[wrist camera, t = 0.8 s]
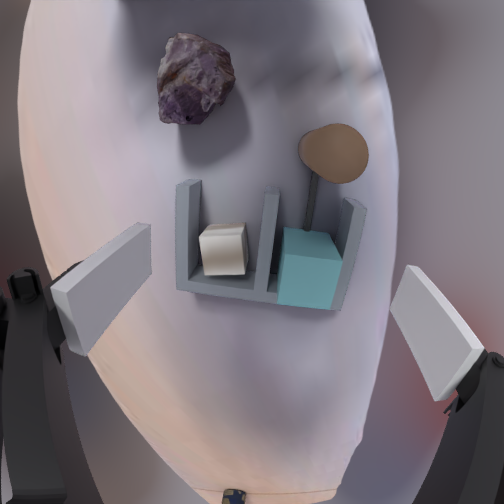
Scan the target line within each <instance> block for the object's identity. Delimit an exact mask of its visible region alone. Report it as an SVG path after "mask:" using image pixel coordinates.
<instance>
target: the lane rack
mask: <svg viewBox="0 0 504 504" xmlns="http://www.w3.org/2000/svg"><path fill="white" fill-rule="evenodd" d="M200 194H201V180H194V179H189V180H187V181H184V182H182V183H180V184H178V185H176V210H175V253H176V288H177V290H182V291H188V292H194V293H200V294H207V295H213V296H220V297H227V298H234V299H241V300H249V301H256V302H264V303H272V304H277V275H276V274H269V271H270V264H271V257H272V249H273V242H274V235H275V227H276V220H277V212H278V204H279V196H280V192H279V188H276V187H268V186H267V187H266V191H265V196H264V205H263V214H262V223H261V231H260V240H259V249H258V257H257V266H256V272H253V271H245V274H241V275H205V273H204V267H203V265H200V264H198V245H199V215H200ZM366 212H367V209H366V208H365V207H364V206H363V205H361V204H360V203H359V202H358V201H356V200H354V199H349V198H344V200H343V205H342V211H341V216H340V221H339V226H338V231H337V236H336V241H335V247H336V249H337V251H338V253H339V255H340V257H341V259H342V261H343V263H342V267H341V271H340V275H339V278H338V282H337V286H336V290H335V293H334V297H333V300H332V304H331V307H330V310H340V311H341V308H342V305H343V301H344V298H345V295H346V291H347V288H348V284H349V281H350V277H351V274H352V270H353V266H354V263H355V259H356V255H357V251H358V247H359V243H360V239H361V234H362V230H363V226H364V221H365V216H366Z"/></svg>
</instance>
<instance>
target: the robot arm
mask: <svg viewBox="0 0 504 504" xmlns="http://www.w3.org/2000/svg"><path fill="white" fill-rule="evenodd" d="M151 274H152V268H151V224H145V223H138V222H137V223H136V224H134V225H133V226H131V227H130V228H128V229H127V230H125V231H124V232H123V233H121V234H120V235H118V236H117V237H115V238H114V239H113V240H111V241H110V242H108V243H107V244H106V245H104V246H103V247H101V248H100V249H99V250H97V251H96V252H95V253H93V254H92V255H91V256H89V257H88V258H87V259H85V260H83V261H80V262H78V263H76V264H74V265H72V266H71V267H70V268H68V269H67V271H65V272H63V273H62V274H61V276H58V277H57V278H56V279H54V280H53V281H52V282H51V283H50V284H48V285H47V286H46V287H45V288H44V289H42V285H41V281H40V277H39V273H38V270H36V269H35V268H31V267H28V268H22V269H18V270H16V271H14V272H13V273H12V274H10V275H9V276H8V278H7V282H8V286H9V289H10V293H11V296H12V299H11V298H5V296H4V293H3V290H2V288H1V287H0V504H2V501H1V459H2V446H3V436H4V446H5V454H6V460H7V466H8V472H9V477H10V482H11V486H12V492H13V497H12V499H11V500H10V501H8V502H6V504H104V503H103V501H102V499H101V497H100V494H99V492H98V489H97V487H96V485H95V482H94V480H93V477H92V474H91V472H90V469H89V466H88V464H87V460H86V457H85V454H84V451H83V448H82V445H81V441H80V438H79V434H78V430H77V427H76V423H75V419H74V415H73V410H72V405H71V401H70V395H69V390H68V384H67V378H66V372H65V363H64V355H63V350H62V347H61V343H62V342H63V341H64V340H65V339H66V341H67V343H68V346H69V349H70V350H71V351H73V352H75V353H78V354H80V355H82V356H85V357H86V355H87V354H88V353H89V351H90V350H91V348H92V347H93V346H94V344H95V343H96V342H97V341H98V339H99V338H100V337H101V335H102V334H103V333H104V331H105V330H106V329H107V327H108V326H109V325H110V324H111V322H112V321H113V320H114V319H115V317H116V316H117V315H118V314H119V312H120V311H121V310H122V309H123V307H124V306H125V305H126V304H127V302H128V301H129V300H130V299H131V297H132V296H133V295H134V294H135V293H136V291H137V290H138V289H139V288H140V287H141V285H142V284H143V283H144V282H145V281H146V279H147V278H148V277H149V276H150V275H151ZM390 311H391V313H392V314H393V316H394V318H395V320H396V322H397V324H398V325H399V327H400V329H401V331H402V333H403V335H404V337H405V339H406V341H407V343H408V345H409V347H410V349H411V351H412V353H413V355H414V357H415V359H416V361H417V363H418V365H419V368H420V370H421V372H422V374H423V376H424V378H425V381H426V383H427V385H428V387H429V390H430V392H431V394H432V397H433V399H434V401H439V400H445V399H448V398H449V396H450V395H451V394H452V393H453V392H454V390H455V389H456V390H457V392H458V396H457V397H456V398H455V399H454V400H453V401H452V403H451V404H450V405H449V406H448V407H447V408H446V409H445V411H444V414H445V413H446V412H447V411H448V410H451V412H450V413H449V414H448V416H449V418H448V422H447V425H446V428H445V431H444V434H443V437H442V439H441V442H440V445H439V447H438V450H437V453H436V455H435V458H434V460H433V462H432V465H431V467H430V469H429V472H428V474H427V476H426V478H425V480H424V482H423V484H422V486H421V488H420V490H419V492H418V494H417V496H416V498H415V500H414V501H413V503H412V504H504V358H503V356H501V355H500V354H498V353H496V352H490V353H487V351H486V350H485V348H484V347H483V346H482V344H481V342H480V341H479V340H478V338H477V337H476V336H475V334H474V333H473V331H472V330H471V329H470V328H469V326H468V325H467V324H466V322H465V321H464V320H463V319H462V317H461V316H460V315H459V313H458V312H457V311H456V310H455V308H454V307H453V306H452V305H451V304H450V302H449V301H448V300H447V299H446V298H445V296H444V295H443V294H442V293H441V292H440V291H439V289H438V288H437V287H436V286H435V285H434V284H433V283H432V281H431V280H430V279H429V278H428V277H427V276H426V275H425V274H424V273H423V271H422V270H421V269H420V268H419V267H417V266H411V265H407V266H406V268H405V271H404V274H403V277H402V280H401V282H400V284H399V287H398V290H397V292H396V295H395V297H394V300H393V302H392V304H391V307H390Z"/></svg>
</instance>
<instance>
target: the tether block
mask: <svg viewBox="0 0 504 504" xmlns="http://www.w3.org/2000/svg"><path fill="white" fill-rule="evenodd" d="M298 153H299V156H300V158H301V160H302V162H303V163H304V164H305V165H307V166H308V167H309V168H311V169H312V170H313V172H312V179H311V186H310V193H309V199H308V206H307V212H306V218H305V225H304V229H296V228H289V227H284V228H283V235H282V242H281V248H280V255H279V262H278V270H277V304H280V305H288V306H297V307H307V308H317V309H327V310H330V307H331V304H332V300H333V297H334V293H335V290H336V286H337V282H338V278H339V275H340V271H341V267H342V263H343V261H342V259H341V257H340V255H339V253H338V251H337V249H336V247H335V245H334V243H333V241H332V239H331V237H330V235H329V233H325V232H318V231H311V230H310V226H311V220H312V214H313V208H314V202H315V195H316V189H317V182H318V175H320V176H321V177H322V178H324V179H325V180H327V181H330V182H332V183H338V184H344V183H348V182H351V181H354V180H355V179H357V178H358V177H359V176H360V175H361V174H362V173H363V172H364V170H365V168H366V166H367V163H368V157H369V154H368V147H367V144H366V142H365V140H364V138H363V137H362V135H361V134H360V133H359V132H358V131H357V130H355V129H354V128H352V127H350V126H348V125H345V124H330V125H327V126H324V127H321V128H319V129H316V130H313V131H310V132H308V133H306V134H305V135H304V136H303V137H302V138H301V140H300V142H299V145H298Z"/></svg>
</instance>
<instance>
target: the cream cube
mask: <svg viewBox="0 0 504 504" xmlns="http://www.w3.org/2000/svg"><path fill="white" fill-rule="evenodd" d="M199 242H200V249H201V255H202V261H203V267H204V273H205V275H241V274H245V271H246V267H247V263H248V259H249V256H248V244H247V233H246V223H232V224H214V225H208V226H207V227H206V229H205V230H204V231H203V233H202V234H201V235H200V236H199Z"/></svg>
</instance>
